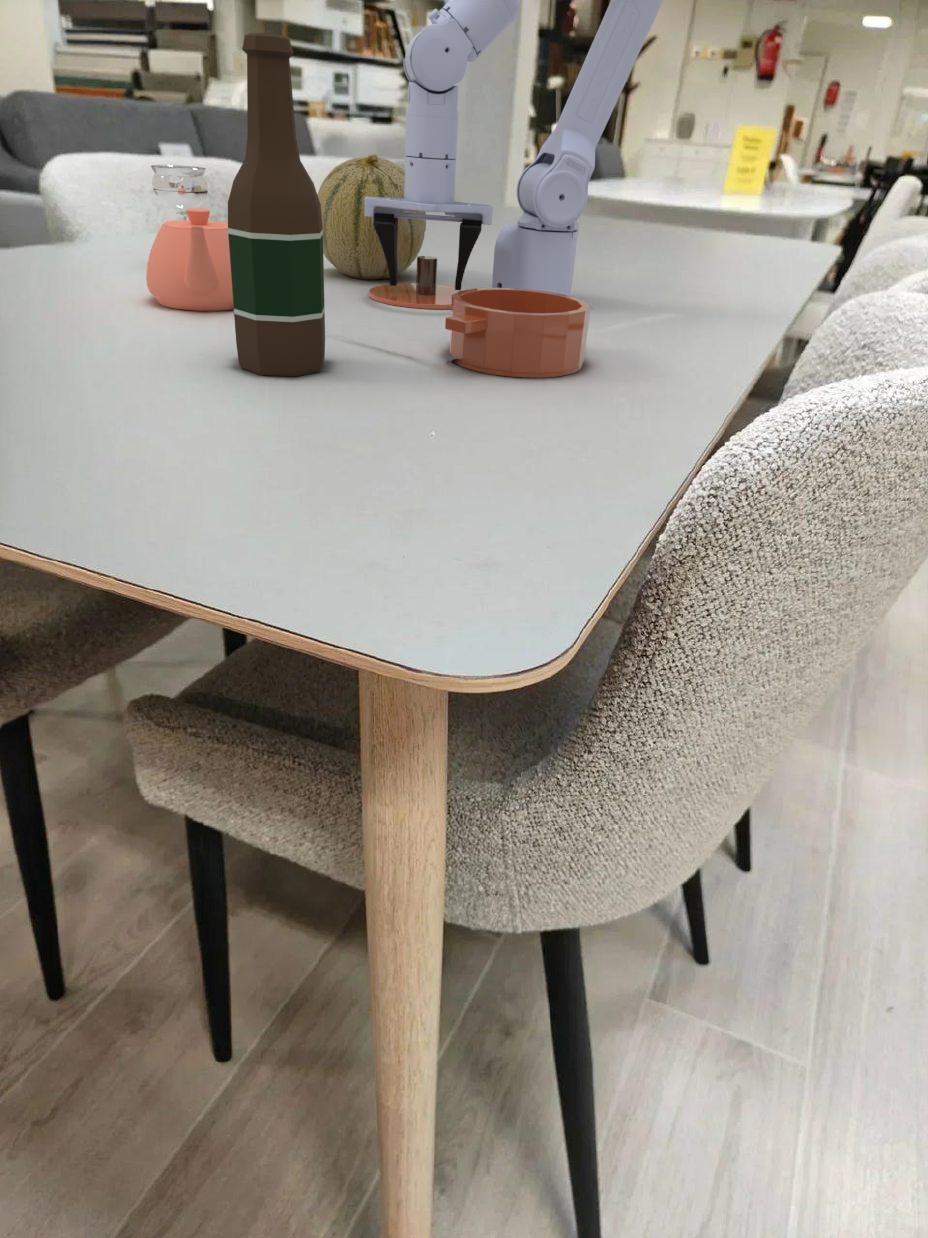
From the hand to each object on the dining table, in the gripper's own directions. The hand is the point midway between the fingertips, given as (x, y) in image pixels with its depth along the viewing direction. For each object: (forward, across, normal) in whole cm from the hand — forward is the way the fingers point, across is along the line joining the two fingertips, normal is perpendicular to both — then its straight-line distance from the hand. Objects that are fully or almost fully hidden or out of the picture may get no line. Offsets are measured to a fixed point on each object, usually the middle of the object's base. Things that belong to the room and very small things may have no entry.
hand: (425, 286), depth 102 cm
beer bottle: (+2, -11, -33) cm, 35 cm away
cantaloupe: (+2, -8, +14) cm, 16 cm away
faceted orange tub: (+2, +10, -25) cm, 27 cm away
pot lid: (+1, 0, 0) cm, 1 cm away
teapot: (+2, -24, -8) cm, 26 cm away
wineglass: (+2, -32, +13) cm, 35 cm away
